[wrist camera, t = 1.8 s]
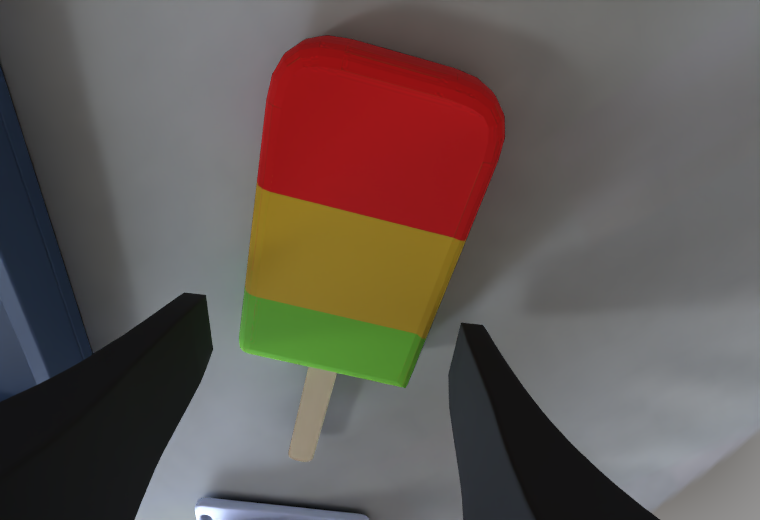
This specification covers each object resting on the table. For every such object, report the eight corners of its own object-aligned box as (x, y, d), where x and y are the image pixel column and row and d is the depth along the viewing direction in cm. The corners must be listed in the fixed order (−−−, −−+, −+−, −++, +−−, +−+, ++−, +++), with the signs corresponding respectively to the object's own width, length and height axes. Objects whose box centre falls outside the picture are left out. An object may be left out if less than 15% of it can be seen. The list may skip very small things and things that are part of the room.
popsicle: (514, 80, 11) (531, 98, 10) (370, 451, 19) (366, 495, 17) (289, 17, 11) (268, 24, 9) (237, 423, 19) (220, 466, 17)
